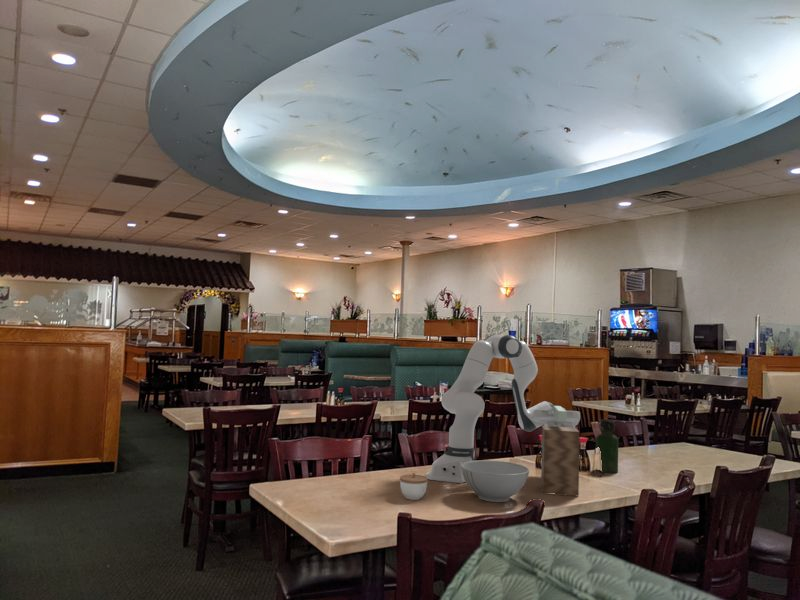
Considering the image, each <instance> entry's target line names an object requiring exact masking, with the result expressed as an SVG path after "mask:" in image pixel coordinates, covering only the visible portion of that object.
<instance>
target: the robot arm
mask: <svg viewBox="0 0 800 600" xmlns="http://www.w3.org/2000/svg"><path fill="white" fill-rule="evenodd" d="M494 358H495V359H509V361H510V364H511V367H512V369H513V379H512V380H511V389H512V395H513V399H514V404H515V410H516V414H517V415H516V416H517V417H516V418H517V421H518V424H519V427H520V428H521V429H522V431H525V432H529V433H530V432H533V431H534V430H536V429H538V428H539V427H542V426H553V427H571V428H576V426H577V425H578V424H579V423H580V420H581V412H580V411H577V410H566V408H565V407H562V408H563V409H564V410H565V411H566V421H558V420H557V418H556V417H555V416H554V411H555V408H554V406H555V405H554V404H553V403H551V402H549V401H546V400H544V401H542V402H539V403H538V404H535V405H534V406H532V407H529V408H527V406H526V402H525V395H524V394H525V391H526V388H528V386H529V385H530V384H531V383H532V382H533V381H534V380H535V379H536V377H537V375H538V372H539V369H538V364H537V362H536V359H535V355H533V352H532V351H531V348H530V347H529V346H528V344H527V342H525V341H524V340H519V339H518V338H517V337H515V336H514V335H510V334H491V335H488V336H487V337H485V338H484V339H483V340H481V339H480V340H477V341H475V342H474V343H473V345H472V347H470V350H469V352H468V354H467V356H466V359H465V361H464V363H463V366H462V369H461V371H460V373H459V375H458V377H457V379H456V380H455V382H454V383H453V384H452V385H451V387H450V388H449V389H448V390H447V391H445V392H444V393H443V394H442V396H441V399H440V401H441V405H442V407H443V409H444V410H446V411H447V412H449V413H450V414H454V415H455V418H454V421H453V424H452V425H450V427H449V428H448V429H449V430H448V445H447V444H445V445H444V446H443V454H442V455H441V456H440V457H439V456H438V458H436V459H435V460H434V461H433V463H432V464H431V468H430V471H428V472H426V474H425V477H427V478H428V480H431V481H439V482H447V483H453V484H454V483H456V484H463V483H466V481H465V479H464V477H463V474H462V470H461V464H463V463H465V462H469V461H475V454H476V453H475V451H476V450H475V447H474V442H475V441H474V440H475V437H474V436H475V427H476V424H477V421H478V419H479V418H480V417H479V416H481V415H482V413H483V412H484V410H485V401H484V399H483V397H481V396H480V395H479V394H477V393H475V392H476V390H477V389H478V388H479V387H481V386H482V385H483V384H484V382H485V379H486V375H487V373H488V371H489V368H490V365H491V362H492V360H493V359H494Z"/></svg>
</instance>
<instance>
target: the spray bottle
mask: <svg viewBox="0 0 800 600" xmlns="http://www.w3.org/2000/svg"><path fill="white" fill-rule="evenodd" d="M615 426H616V425H615V421H614V419H608V418H607V419H606V418H602V419H601V420H600V423H599V429H600V432H601V433H599V434H598V435H596V438H595V449H596V448H597V447H599V448H600V451H601V460H602V471H603V472H602V473H605V472H607V473H606V474H613V473H614V474H615V473H618V472H619V438H618V436H616V435H615V434H613V433H615V429H616V428H615Z"/></svg>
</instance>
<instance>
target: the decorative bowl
mask: <svg viewBox="0 0 800 600" xmlns="http://www.w3.org/2000/svg"><path fill="white" fill-rule="evenodd" d="M461 470H462V474H463V477H464V479H465V481H466V482H465V483H466V484H467V486H468V487H469V489H471V491H473V492H474V493H475V494H476V495H477V498H478V499H479V500H482V501H485V502H491V503H492V502H493V503H505V502H509V501H510V499H511V498H512V497H513V496H515V495H516V494H517V493H518V492H520V490H521V489H522V488H523V487H524V486H525V484H526V482H527V480H528V477H529V474H530V468H528V467H527V466H525V465H523V464H518V463H515V462H509V461H501V460H474V461H469V462H465V463H463V464H461Z"/></svg>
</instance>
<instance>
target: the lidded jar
mask: <svg viewBox="0 0 800 600" xmlns="http://www.w3.org/2000/svg"><path fill="white" fill-rule="evenodd" d="M399 480H400V482H399V485H400V491H401V493H402V496H404V497H405V499H406V500H410V501H417V500H421V499H422V497H424V496H425V494H426V491H427V487H428V480H429V479H428V478H427V477H426V475H420V474H416V473H415V472H413V473H412V474H403V475H401V476H400V477H399Z"/></svg>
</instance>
